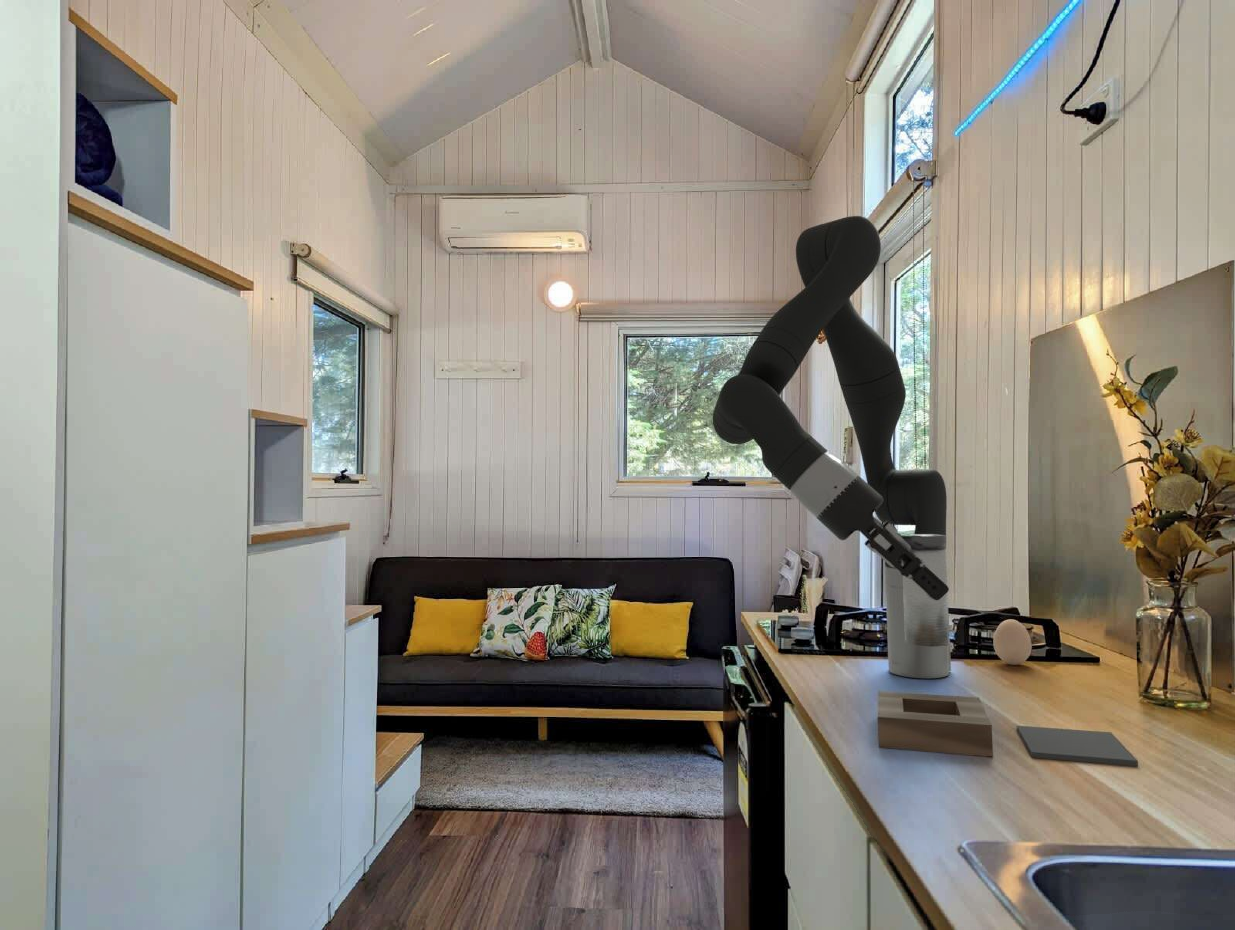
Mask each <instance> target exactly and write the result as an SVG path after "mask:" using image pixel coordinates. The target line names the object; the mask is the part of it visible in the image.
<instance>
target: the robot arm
mask: <svg viewBox="0 0 1235 930" xmlns="http://www.w3.org/2000/svg"><path fill="white" fill-rule="evenodd" d="M881 244H882V243H881V237H880V233H879V232H878V229H877V227H876V226H875V224H874V222H872V221H871V220H870V219H869V218H867V217H865V216H861V215H850V216H846V217H842V218H838V219H836V220H832V221H829V222H824V223H821V224H818V225H813V226H811V227H809V228H806V229H805V230H803V231H802V232H800V235H799V236H798V238H797V241H796V246H795V259H796V264H797V269H798V272H799V275H800V277H801V281H802V284H803V285H804V288H803V289H802V290H801V291H800V292H799V293H798V294H797V295H795V296H793V298H792V299H790V300H789V301H788V302H787V303H786V304H784V305H783V306H782V307H780V309H779V310H777V311H776V312H775V313H774V314H773V316H772V317H770V319H769V320H768V321H767V323H766V324H765V325H764V327H763V328H762V329H761V331H760V332H759V334H758V336H757V337H756V338H755V341H754V342H753V343H752V345H751V347H750V348H749V350H748V352H747V354H746V355H745V358H744V361H743V363H742V365H741V368H740V370H739V372H738V374H737V375H734V376H732V377H730V378H729V379H727V380H726V381H725V383H724V384H723V385H722V387H721V388H720V391H719V394H718V397H717V400H716V403H715V406H714V409H713V413H712V425H713V430H714V432H715V433H716V434H717V436H718V437H719V438H720V439H721V440H723V442H725V443H728V444H732V445H744V444H747V443H750V442H751V441H753V440H754V442H755V443H756V444H757V446H758V447H759V448H760V450H761V460H762V463H763V465H764V467H765V468H766V469H767V470H768V472H769V473H771V475H773V477H774V478H776V479H777V480H778V481H779V482H780V483H781V484H782V485H783V486H784V487H785V488H786V489H787V490H789V491H790V492H791V493H792V494H793V496H794V497H795V498H796V499H797V500H798V502H799V503H800V504H801V506H803V507H804V508H805V509H806V510H807V511H809V513H811V514H812V515H813V516H814V517H815V518H816V519H817V520H818V521H819V522H820V523H821V524H823V526H824V527H826V528H827V530H829V531H830V532H831V533H832V534H833V535H834V536H835V537H836V538H837V539H838V540H840V541H846V540H847V539H848V538H850V536H852V534H853V533H854V532H856V531H858V532H860V534H862V535H863V536H864V537H865V538H866V539H867V540H865V542H864V545H865V546H866V547H867V548H868V550H870V552H872V553H875V554H877V555H878V556H879V557H880V558H881V559H882V560H883V561H884V566H885V567H884V577H885V580H884V581H885V599H886V600H885V603H886V629H887V630H886V631H887V633H886V634H887V636H886V637H887V661H888V672H890V673H891V674H894V675H896V676H901V677H906V678H914V679H940V678H945V677H947V676H949V675H950V672H951V671H952V666H951V664H952V663H951V660H952V659H951V638H950V637H951V636H950V635H951V633H950V632H949V645H946V646H936V647H930V646H918V645H912V644H908V643H906V642H905V626H904V598H903V576H905V577H907V578H909V579H912V580H913V581H914V582H915V583H916V584H918V585H919V586H920V587H921V588H922V589H923V590H924V591H925V592H926V593H927V594H928V595H930V596H931V597H932V598H933V599H934V600H940V599H941V598H942V597H943V596H944V595H945V594H946V593H947V594H948V592H949V589H950V588H949V586H948V584H947V585H946V584H945V583H944V582H943V581H941V580H940V579H939V578H938V577H937V576H936V575H935V574H934V573H933V572H932V571H930V570H929V569H928V568H927V567H926V565H925V564H924V562H923V561H922V560H920V559H919V558H918V557H916V556H915V555H914V554H913V548H912V546H911V545H910V544H908V543H907V542H906V541H905V540H904V539H903V538H902V537H901V535H902V534H901V533H900V532H899V531H898V529H897V528H896V526H915V527H914V533H913V534H936V535H946V536H947V504H948V503H947V501H948V499H947V487H946V484H945V480H944V478H943V476H942V475H941V473H940V472H939V471H938V470H936V469H933V468H917V469H915V468H913V469H897V468H896V467H895V465H894V462H893V457H892V452H891V451H892V448H891V447H892V444H891V443H892V439H893V436H894V433H895V430H896V427H897V425H898V422H899V419H900V418H901V416H902V412H903V409H904V406H905V402H906V397H907V394H906V393H907V392H906V386H905V382H904V379H903V375H902V372H901V369H900V365H899V364H900V363H899V362H898V358H897V356H896V354H895V352H894V350H893V349H892V348H891V346H890V345H889V344H888V342H887V341H886V340H885V339H884V338H883V337H882V336H881V335H880V334H879V333H878V331H876V329H874V328H873V327H872V326H871V325H870V324H869V323H868V322H867V321H866V320H865V319H864V318H863V317H862V316H861V315H860V314H859V312H858V311H857V309H856V307H855V306H854V305H853V302H852V300H851V296H853V295H854V293H855V292H857V290H858V289H859V288H860V287H861V286H862V285H863V284H864V283H865V281H866V280H867V279H868V278H869V276H870V275H871V274H872V272H874V270H875V268H876V266H877V265H878V262H879V260H880V257H881V251H882V246H881ZM822 331H823V332H822ZM821 333H823V335H824V337H825V339H826V343H827V346H828V348H829V351H830V355H831V359H832V361H833V363H834V367H835V371H836V376H837V380H838V383H839V386H840V389H841V392H842V396H843V398H844V402H845V405H846V407H847V410H848V413H849V417H850V418H851V419H850V420H851V423H852V425H853V429H854V432H855V435H856V439H857V443H858V446H859V451H860V455H861V459H862V463H863V468H864V473H865V478H866V481H865V480H864V479H863V478H862V477H861V476H859V475H860V474H857V473H856V472H855V471H854V470H853V469H852V468H851V467H850V466H849V465H847V464H846V463H845V462H844V461H843V460H841V459H840V458H838V456H835V455H833V454H832V453H831V452H830V451H828V449H827V448H825V446H823V445H822V444H821V443H820V442H819V441H818V440H816V438H814V437H813V436H812V435H810V434H809V433H808V432H807V431H806V430H805V429H804V428H803V427H802V425H801V424H800V423H799V421H798V419H797V418H796V416H795V415H794V413H793V412H792V411H791V410H790V408H789V406H788V405H787V403H786V402H785V401H784V400H783V399H782V397H781V394H782V393H783V391H784V389H785V388H786V386H787V385H788V384H789V382H790V381H791V379H792V378H793V377H794V375H795V374H796V372H797V371H798V369H799V368H800V366H801V364H802V362H803V361H804V359H805V357H806V356H807V354H808V353H809V350H810V349H811V347H812V345H813V344H814V343H815V341H816V339H818V337H819V336H820V335H821ZM874 513H875V515H876V517H877V518H878V519H877V518H876V517H874ZM881 522H882V523H881ZM901 543H902V544H901ZM907 556H909V557H910V558H911V559H910V560H909V561H908V562H907V563H906V564H905V565H904V566H902V561H903V560H904V559H905V558H906V557H907ZM923 567H924V568H923ZM948 622H949V623H950V614H949V613H948Z"/></svg>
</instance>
